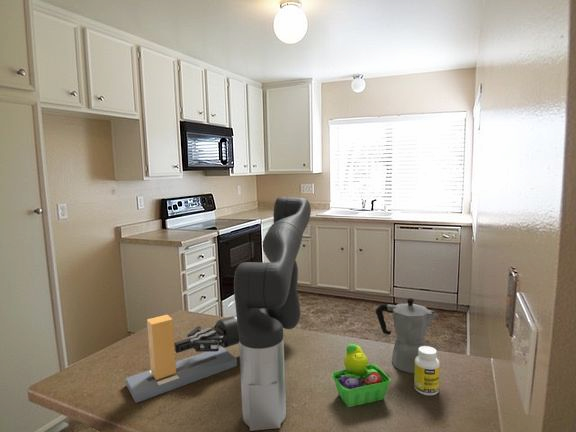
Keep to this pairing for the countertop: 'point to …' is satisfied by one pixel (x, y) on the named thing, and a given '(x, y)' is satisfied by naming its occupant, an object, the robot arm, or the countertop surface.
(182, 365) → the switch panel
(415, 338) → the coffeepot
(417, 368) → the supplement bottle
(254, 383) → the robot arm
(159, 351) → the slider tab
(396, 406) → the countertop surface
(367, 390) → the fruit basket
